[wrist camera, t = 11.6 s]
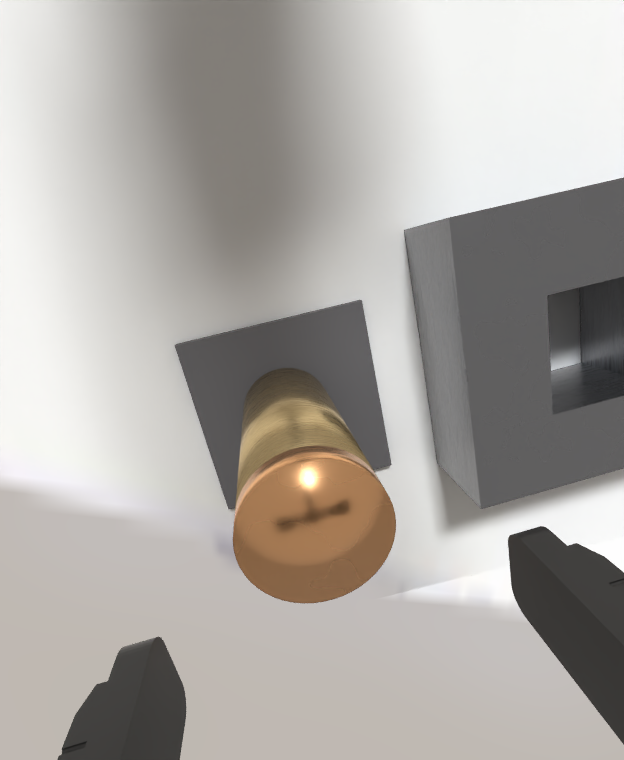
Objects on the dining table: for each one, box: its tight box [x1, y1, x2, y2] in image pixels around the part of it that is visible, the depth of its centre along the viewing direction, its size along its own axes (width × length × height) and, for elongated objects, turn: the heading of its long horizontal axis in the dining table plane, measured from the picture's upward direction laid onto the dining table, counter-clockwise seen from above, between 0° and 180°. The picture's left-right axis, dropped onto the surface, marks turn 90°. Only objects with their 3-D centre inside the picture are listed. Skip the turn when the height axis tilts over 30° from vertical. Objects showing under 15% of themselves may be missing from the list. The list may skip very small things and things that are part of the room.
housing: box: [404, 178, 624, 509], centre depth 21 cm, size 14×14×5 cm
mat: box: [175, 300, 391, 509], centre depth 22 cm, size 10×10×1 cm
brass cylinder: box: [233, 368, 396, 603], centre depth 17 cm, size 5×5×11 cm
